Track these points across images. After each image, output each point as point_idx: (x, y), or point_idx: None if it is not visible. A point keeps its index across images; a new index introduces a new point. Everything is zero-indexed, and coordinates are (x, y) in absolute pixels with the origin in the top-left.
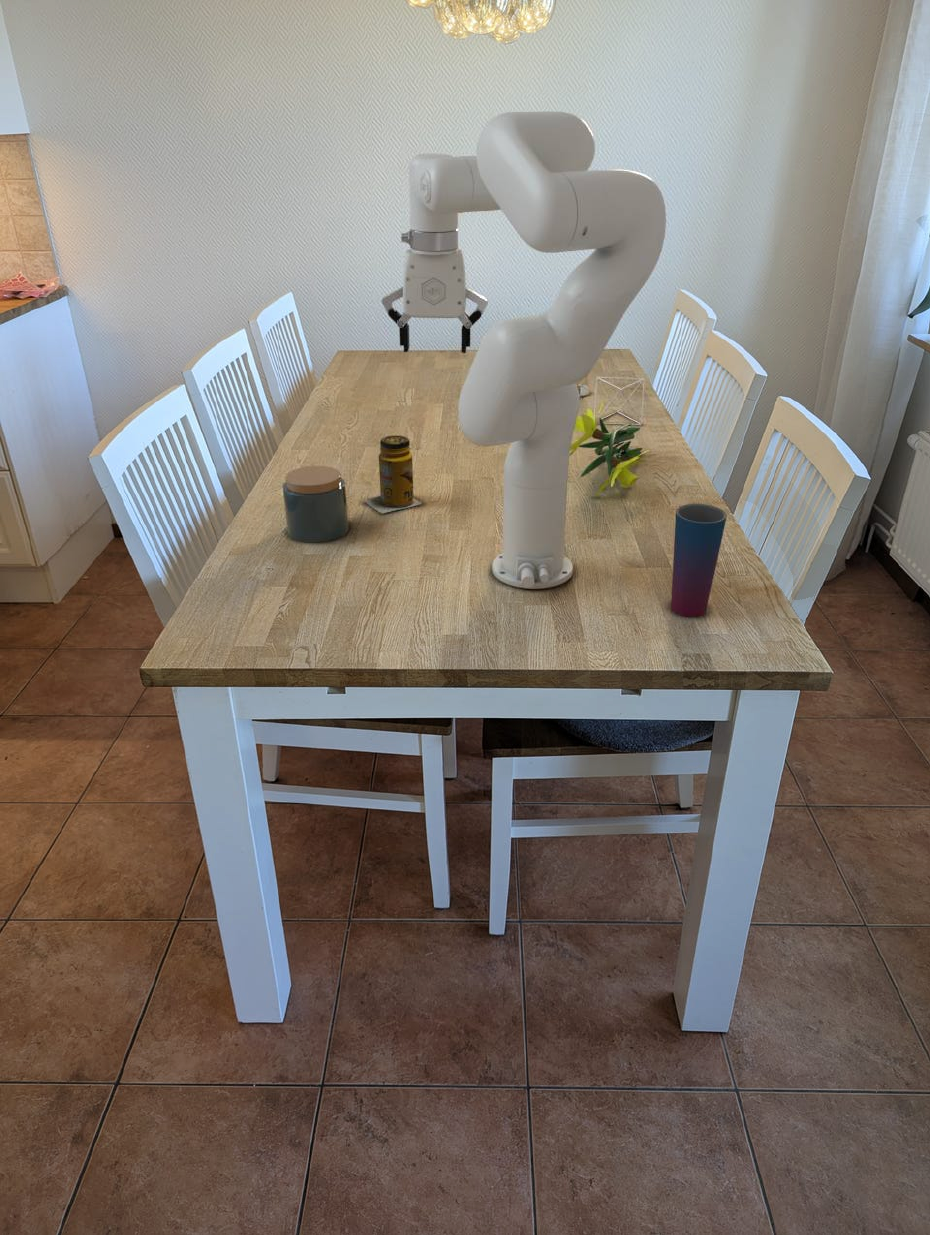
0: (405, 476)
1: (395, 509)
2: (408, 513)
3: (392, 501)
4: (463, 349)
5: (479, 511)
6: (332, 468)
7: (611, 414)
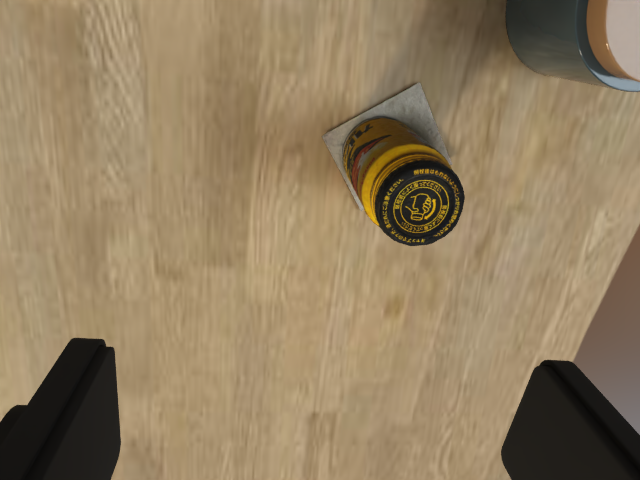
0: (375, 139)
1: (386, 107)
2: (358, 84)
3: (395, 120)
4: (83, 352)
5: (185, 78)
6: (618, 51)
7: None
